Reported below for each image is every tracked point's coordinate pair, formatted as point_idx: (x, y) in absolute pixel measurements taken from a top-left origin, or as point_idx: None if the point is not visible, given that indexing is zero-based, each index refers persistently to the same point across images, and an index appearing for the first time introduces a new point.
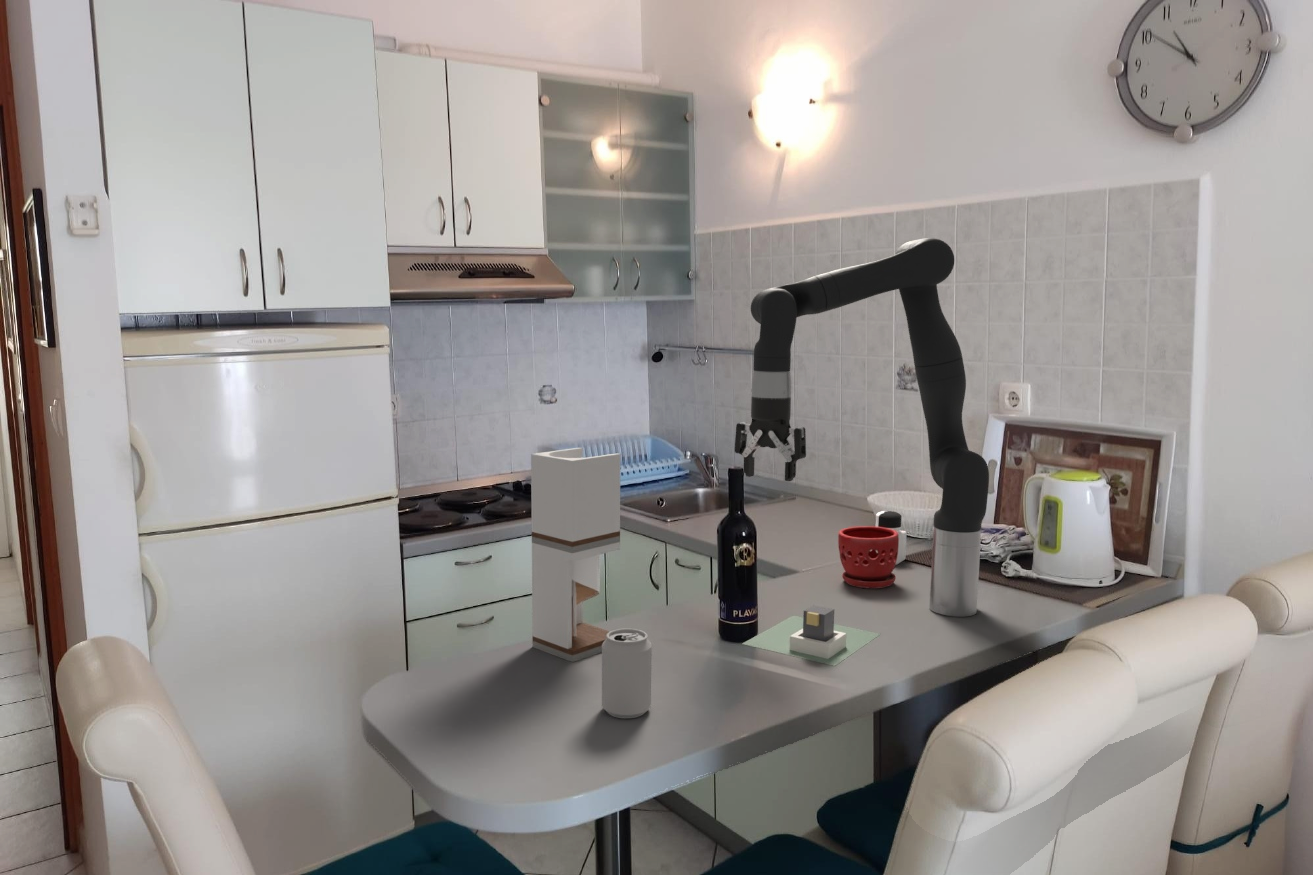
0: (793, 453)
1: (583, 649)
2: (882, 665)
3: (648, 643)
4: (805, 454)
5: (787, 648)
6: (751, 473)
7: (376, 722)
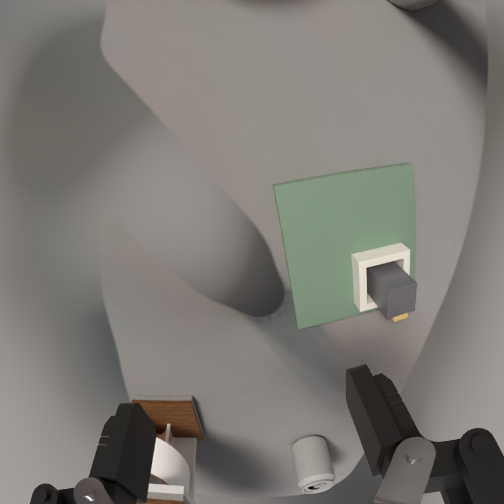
0: (420, 483)
1: (200, 430)
2: (438, 240)
3: (332, 477)
4: (492, 444)
5: (349, 300)
6: (144, 425)
7: (217, 496)
